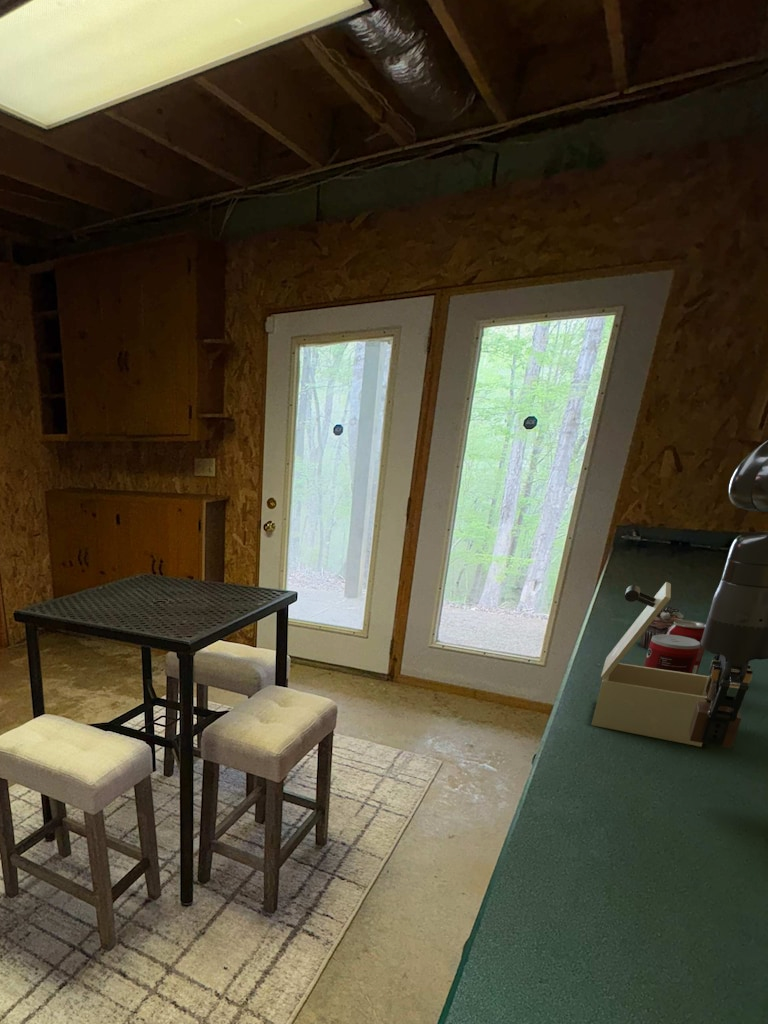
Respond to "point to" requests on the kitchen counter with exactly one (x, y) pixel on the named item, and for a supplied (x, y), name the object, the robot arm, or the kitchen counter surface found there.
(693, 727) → the block
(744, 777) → the kitchen counter surface
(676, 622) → the soda can
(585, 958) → the kitchen counter surface
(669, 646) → the canned food
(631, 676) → the bin
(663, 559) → the kitchen counter surface
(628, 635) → the bin lid
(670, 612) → the cupcake
